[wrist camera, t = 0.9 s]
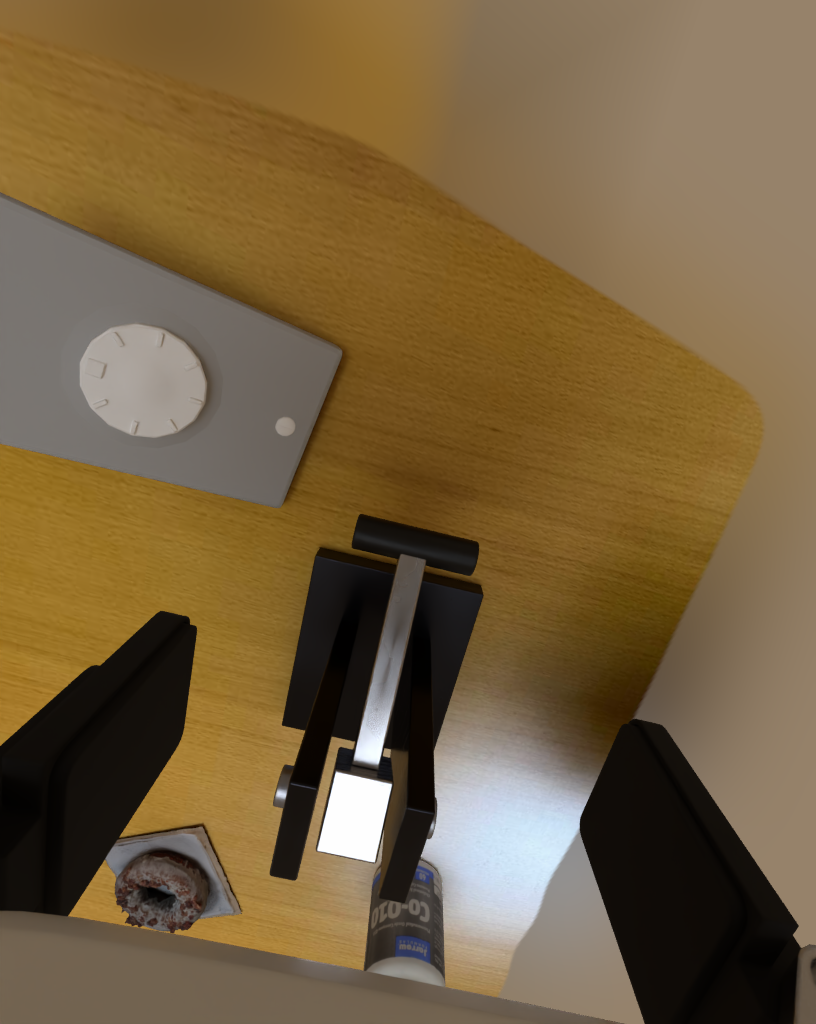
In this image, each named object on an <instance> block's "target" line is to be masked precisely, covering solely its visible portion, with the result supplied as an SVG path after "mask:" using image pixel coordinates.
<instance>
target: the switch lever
mask: <svg viewBox="0 0 816 1024" xmlns="http://www.w3.org/2000/svg"><path fill="white" fill-rule="evenodd" d="M352 548H353V549H357V550H362V551H366V552H370V553H374V554H379V555H383V556H387V557H391V558H396V559H398V560H397V564H396V568H395V573H394V577H393V581H392V586H391V590H390V594H389V598H388V603H387V607H386V611H385V615H384V620H383V624H382V628H381V633H380V637H379V641H378V645H377V650H376V654H375V658H374V662H373V667H372V671H371V675H370V680H369V684H368V688H367V692H366V697H365V701H364V705H363V709H362V714H361V718H360V722H359V727H358V731H357V735H356V739H355V744H354V748H353V750H352V749H347V748H342V747H340V748H339V749H338V753H337V758H336V762H335V766H334V770H333V774H332V779H331V783H330V787H329V791H328V795H327V800H326V804H325V808H324V812H323V816H322V821H321V826H320V831H319V836H318V841H317V845H316V851H317V852H321V853H326V854H331V855H336V856H340V857H345V858H350V859H355V860H359V861H364V862H369V863H376V862H377V857H378V853H379V848H380V844H381V839H382V835H383V830H384V826H385V821H386V817H387V812H388V808H389V803H390V799H391V794H392V790H393V785H394V781H393V771H392V761H391V758H388V757H384V756H383V751H384V747H385V743H386V738H387V734H388V729H389V725H390V720H391V716H392V712H393V707H394V703H395V698H396V694H397V689H398V685H399V681H400V676H401V672H402V667H403V663H404V658H405V654H406V649H407V645H408V641H409V636H410V632H411V627H412V623H413V618H414V614H415V610H416V605H417V601H418V596H419V592H420V587H421V583H422V579H423V574H424V570H425V566H429V567H434V568H438V569H442V570H446V571H451V572H455V573H459V574H463V575H468V576H471V575H472V573H473V572H474V570H475V567H476V564H477V560H478V555H479V543H478V542H477V541H473V540H468V539H464V538H460V537H456V536H452V535H448V534H443V533H439V532H435V531H431V530H427V529H422V528H418V527H414V526H410V525H406V524H401V523H397V522H393V521H389V520H385V519H381V518H376V517H372V516H368V515H364V514H360V515H359V517H358V520H357V523H356V527H355V531H354V535H353V540H352Z"/></svg>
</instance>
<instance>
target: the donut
mask: <svg viewBox="0 0 816 1024" xmlns="http://www.w3.org/2000/svg"><path fill="white" fill-rule="evenodd" d="M214 854H215V853H214V852H213V850H212V847H211V845H210V844H209V840H208V837H207V835H206V834H205V831H204V829H203V827H199V828H192V829H191V828H190V829H182V830H177V831H171V832H170V831H169V832H167V833H165V832H163V833H158V834H157V833H155V834H150V835H144V836H137V837H133V838H125V839H120V840H117V841H116V843H115V844H114V846H113V847H112V849H111V851H110V852H109V854H108V855H107V857H106V858H105V860H106V861H107V864H108V865H109V867H110V869H111V870H112V872H113V873H114V874H115V876H116V883H115V895H116V898H117V901H116V902H117V905H120V906H121V907H122V909H123V910H122V912H124V911H126V912H127V913H129V917H128V918H127V919H126V922H125V923H128V924H132V926H134V925H138V927H139V928H140V927H141V926H146V927H149V928H152V929H156V930H159V931H170V933H174V932H175V930H178V929H181V930H188V929H189V928H190V927H191V926H192V924H193V923H194V922H195V921H197V920H198V919H205V918H210V917H211V918H212V917H220V916H221V917H222V916H226V915H227V916H228V915H238V914H242V913H241V910H240V909H239V906H238V903H237V901H236V899H235V897H234V896H233V894H232V892H231V891H230V889H229V884H228V882H226V881H227V880H226V879H227V878H226V877H224V873H223V871H222V867H221V866H220V865H219V863H218V862H217V858H216V856H215V855H214Z"/></svg>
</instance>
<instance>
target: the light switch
mask: <svg viewBox="0 0 816 1024" xmlns="http://www.w3.org/2000/svg"><path fill="white" fill-rule="evenodd" d="M88 345H89V346H88ZM87 347H88V348H87ZM86 349H87V350H86ZM341 357H342V350H341V349H340V348H339V347H338V346H336V345H335V344H333V343H331V342H329V341H326V340H324V339H322V338H320V337H318V336H315V335H313V334H311V333H309V332H307V331H304V330H302V329H300V328H298V327H296V326H293V325H291V324H289V323H287V322H285V321H282V320H280V319H278V318H276V317H274V316H271V315H269V314H267V313H265V312H263V311H260V310H258V309H256V308H254V307H252V306H249V305H247V304H245V303H243V302H241V301H238V300H236V299H234V298H232V297H230V296H227V295H225V294H223V293H221V292H219V291H216V290H214V289H212V288H210V287H208V286H205V285H203V284H201V283H199V282H197V281H194V280H192V279H190V278H188V277H186V276H183V275H181V274H179V273H177V272H175V271H172V270H170V269H168V268H166V267H164V266H161V265H159V264H157V263H155V262H153V261H150V260H148V259H146V258H144V257H142V256H139V255H137V254H135V253H133V252H131V251H128V250H126V249H124V248H122V247H120V246H117V245H115V244H113V243H111V242H109V241H106V240H104V239H102V238H100V237H98V236H95V235H93V234H91V233H89V232H87V231H84V230H82V229H80V228H78V227H76V226H73V225H71V224H69V223H67V222H65V221H62V220H60V219H58V218H56V217H54V216H51V215H49V214H47V213H45V212H43V211H40V210H38V209H36V208H34V207H32V206H29V205H27V204H25V203H23V202H21V201H18V200H16V199H14V198H12V197H10V196H7V195H5V194H3V193H1V192H0V444H4V445H9V446H13V447H17V448H22V449H26V450H30V451H34V452H39V453H43V454H47V455H52V456H56V457H60V458H64V459H69V460H73V461H77V462H82V463H86V464H90V465H94V466H99V467H103V468H107V469H112V470H116V471H120V472H124V473H129V474H133V475H137V476H142V477H146V478H150V479H154V480H159V481H163V482H167V483H172V484H176V485H180V486H184V487H189V488H193V489H197V490H202V491H206V492H210V493H214V494H219V495H223V496H227V497H232V498H236V499H240V500H244V501H249V502H253V503H257V504H262V505H266V506H270V507H274V508H280V507H281V506H282V504H283V502H284V499H285V497H286V494H287V492H288V489H289V487H290V484H291V482H292V479H293V477H294V474H295V472H296V469H297V467H298V464H299V462H300V459H301V457H302V454H303V452H304V449H305V447H306V444H307V442H308V440H309V437H310V435H311V432H312V430H313V427H314V425H315V422H316V420H317V417H318V415H319V412H320V410H321V407H322V405H323V402H324V400H325V397H326V395H327V392H328V390H329V387H330V385H331V382H332V380H333V377H334V375H335V372H336V370H337V367H338V365H339V362H340V360H341ZM81 358H82V359H81ZM200 360H201V362H200ZM201 363H202V365H201ZM202 366H203V368H202ZM203 369H204V371H203ZM204 372H205V374H204ZM205 375H206V377H205ZM206 379H207V380H206Z"/></svg>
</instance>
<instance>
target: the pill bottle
mask: <svg viewBox="0 0 816 1024" xmlns="http://www.w3.org/2000/svg"><path fill="white" fill-rule="evenodd" d="M380 873H381V867H380V868H379V869H378V871H377V872H376V874H375V876H374V879H373V885H372V895H371V905H370V914H369V924H368V933H367V943H366V952H365V962H364V971H367V972H372V973H377V974H382V975H387V976H392V977H397V978H402V979H407V980H412V981H417V982H422V983H427V984H432V985H437V986H442V987H445V966H444V930H443V894H442V882H441V879H440V876H439V874H438V873H437V871H436V870H435V869H434V868H433V867H432V866H430V865H429V864H428V863H426V862H424V861H421V860H419V863H418V866H417V869H416V872H415V875H414V878H413V881H412V884H411V887H410V890H409V893H408V896H407V899H406V902H405V903H404V904H403V903H398V902H394V901H389V900H384V899H380V898H379V885H380Z"/></svg>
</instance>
